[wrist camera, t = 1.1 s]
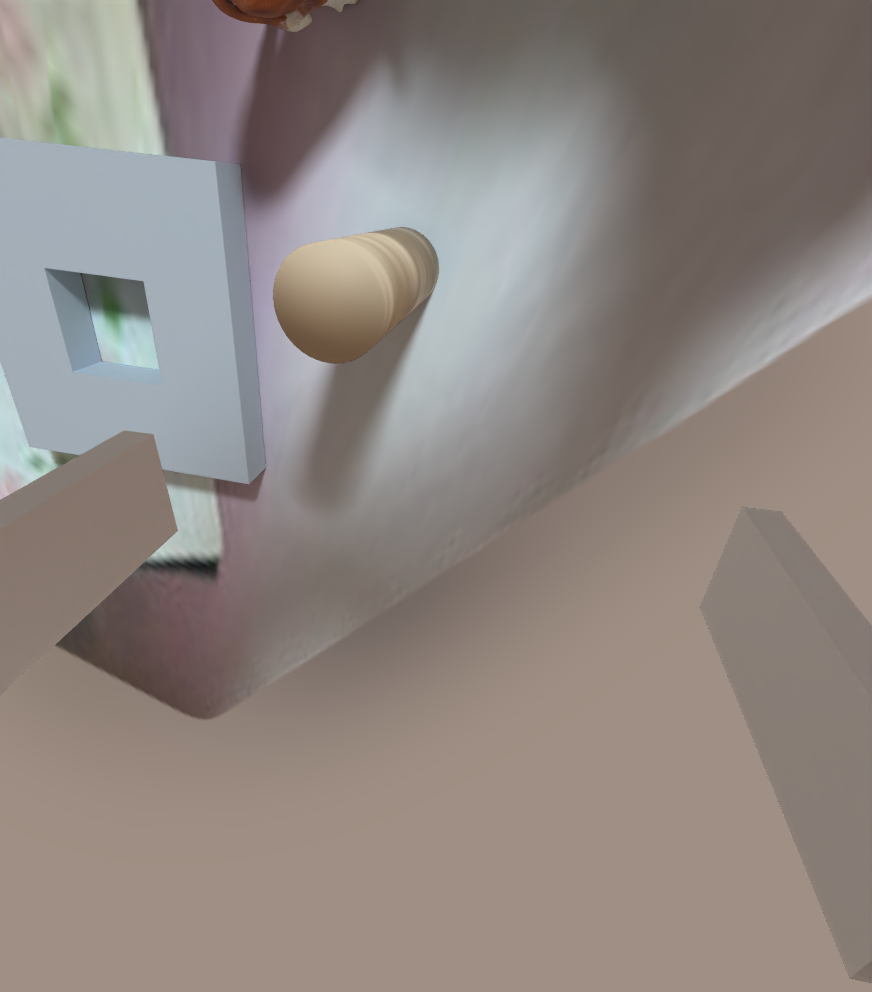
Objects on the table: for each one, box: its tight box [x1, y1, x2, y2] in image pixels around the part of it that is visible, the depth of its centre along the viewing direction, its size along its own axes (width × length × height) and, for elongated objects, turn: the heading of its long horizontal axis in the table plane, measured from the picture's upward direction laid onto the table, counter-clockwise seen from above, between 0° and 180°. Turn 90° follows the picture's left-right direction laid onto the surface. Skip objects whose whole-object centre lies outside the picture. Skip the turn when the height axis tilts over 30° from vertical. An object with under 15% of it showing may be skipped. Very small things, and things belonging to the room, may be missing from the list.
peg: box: [273, 227, 439, 363], centre depth 23 cm, size 4×4×12 cm
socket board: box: [0, 138, 266, 484], centre depth 31 cm, size 18×16×2 cm
